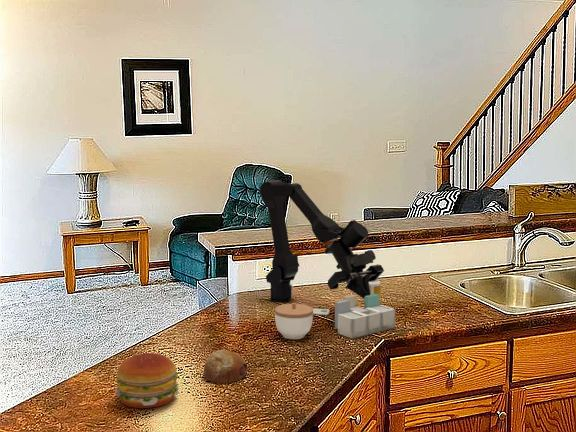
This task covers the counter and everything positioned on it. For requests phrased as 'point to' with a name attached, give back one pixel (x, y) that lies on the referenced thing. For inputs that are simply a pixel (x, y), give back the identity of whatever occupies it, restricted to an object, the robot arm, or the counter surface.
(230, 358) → the bread roll
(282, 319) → the lidded jar
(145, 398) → the burger
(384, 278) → the counter surface
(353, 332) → the gray divided box
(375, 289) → the supplement bottle
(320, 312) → the card
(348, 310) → the drawer slate
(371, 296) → the button teal
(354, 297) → the button tan
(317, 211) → the robot arm
